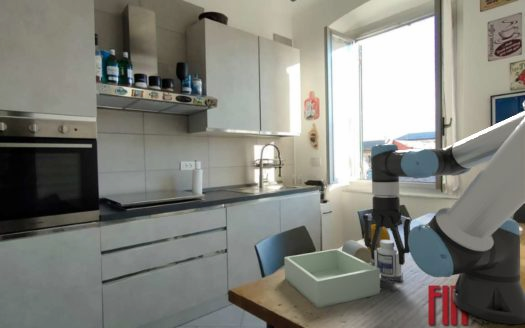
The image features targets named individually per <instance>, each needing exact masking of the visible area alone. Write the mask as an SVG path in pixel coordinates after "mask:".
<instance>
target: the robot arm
mask: <svg viewBox="0 0 525 328" xmlns="http://www.w3.org/2000/svg"><path fill="white" fill-rule="evenodd" d="M522 107H523V110H524V111H522V112H519V113H517V114H516V115H513V116H511V117H509V118H506V119H505V120H502V121H500V122H498V123H495V124H494V125H492V126H489V127H488V128H485V129H483V130H480V131H478V132H476V133H474V134H472V135H470V136H467V137H465V138H463V139H461V140H459V141H456V142H455V143H453V144H451V145H449V146H446V147H444V148H411V149H401V150H399V147H398V145H397V144H395V143H393V144H392V143H390V144H389V143H388V144H387V143H385V144H375V145H373V146H372V147H371V149H370V165H371V167H370V169H371V170H370V171H371V193H372V195H373V196H372V197H371V198H372V211H371V213H365V214H364V215H362V218H363V221H364V234H365V242H364V246H365V247H366V248H367V247H369V248H371V252H370V253H371V258H372V259H373V260H375V261H374V266H375V267H377V268H378V249H379V248H377V247H378V246H377V245H378V242H379V238H380V234H381V230H382V228H383V227H385V228H389V229H390V232H391V233H392V237H393V240H394V244H395V247H396V250H397V253H396V276H398V277H399V276H400V275H401V274H402V273H403V272H402V266H403V265H404V264H405V263H406V260H405V258H406V257H405V256H406V254H409V253H410V256H411V258H412V260H413V262H414V264H416V266H417V267H418V268H419V269H420V270H421V271H422V272H424V273H425V274H427V275H428V276H430V277H433V278H443V277H444V278H450V277H452V276H456V275H458V277H457V279H456V282H455V285H454V288H453V290H452V300H454V301H453V303H454V302H455V303H454V304H455V306H456V307H458V308H459V309H461V310H462V311H464V312H466V313H467V314H469V315H472V316H474V317H477V318H480V319H483V320H484V321H485V320H486V321H489V322H493V323H500V324H504V325H505V324H507V325H521V324H525V291H524V287H523V285H522V282H521V237H522V236H521V233H520V226H519V225H520V224H519V223H518V222H517V220H515V219H512V218H511V217H512V216H513V215H514V214H515V213H516V212H517V211H518V210H519V209H520V208H521V207H522V206H523V205H524V204H525V100H523V102H522ZM483 164H485V165H484V167H483V168H482V169H481V170H480V171H479V173H478V174H477V175H476V176H475V178H474V179H473V180H472V181H471V182H470V184H469V185H468V186H467V187H466V189H465V190H464V191H463V192H462V193H461V195H460V196H459V197H458V198H457V200H456V201H455V202H454V203H453V204H452V205H451V207H443V208H441V209H439V210H438V211H437V212H435V214H434V216H433V217H432V218H431V219H430V221H429V222H427V223H426V224H419V225H417V226H414V227H413V228H412V229H411V223H412V222H413V221H412V217H407V216H404V215H403V214H402V212H401V206H400V205H401V204H400V203H401V200H400V197H399V195H400V179H399V178H401V177H402V178H413V179H427V178H430V177H437V176H438V177H439V176H440V177H441V176H443V177H445V176H451V177H452V176H459V175H463V174H466V173H469V172H470V170H471V169H472V168H475V167H477V166H480V165H483ZM373 219H374V221H375V223H376V227H375V228H376V229H375V233H374V236H373V240H372V243H371V225H372V220H373ZM399 221H401V223H402V225H403V226H402V227H403V228H402V229H403V240H402V237H401V234H400V231H399V226H398V223H399ZM403 241H404V244H403Z"/></svg>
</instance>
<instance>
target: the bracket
mask: <svg viewBox="0 0 525 328" xmlns="http://www.w3.org/2000/svg"><path fill="white" fill-rule="evenodd" d="M387 279H388V280H387ZM403 279H404V272H402V274H401V275H400V276H399V277H398V276H394V277H387V276H383V275H381V274H380V290H383V291H386V292H391V293H394V292H395V291H396V282H403ZM395 281H396V282H395Z"/></svg>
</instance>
